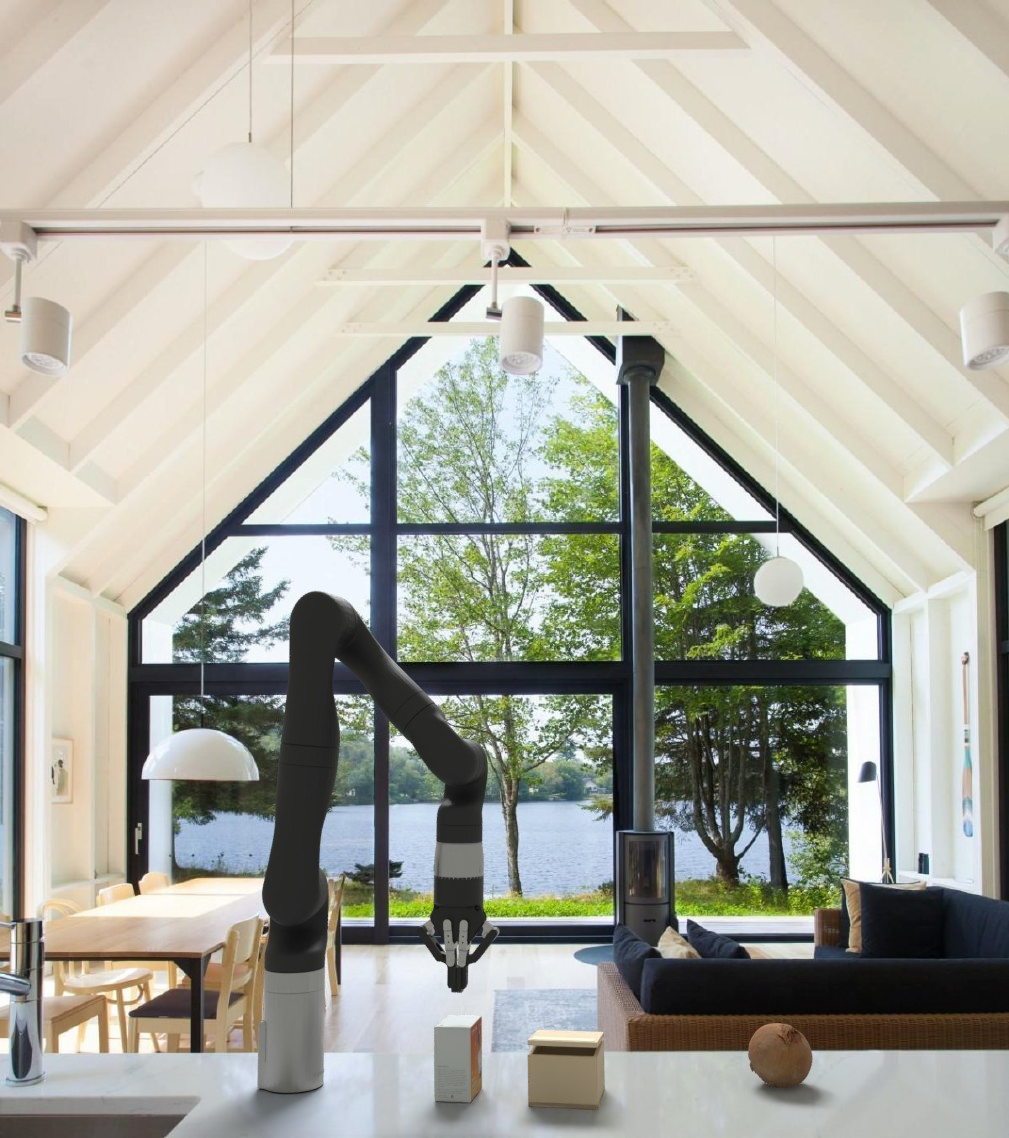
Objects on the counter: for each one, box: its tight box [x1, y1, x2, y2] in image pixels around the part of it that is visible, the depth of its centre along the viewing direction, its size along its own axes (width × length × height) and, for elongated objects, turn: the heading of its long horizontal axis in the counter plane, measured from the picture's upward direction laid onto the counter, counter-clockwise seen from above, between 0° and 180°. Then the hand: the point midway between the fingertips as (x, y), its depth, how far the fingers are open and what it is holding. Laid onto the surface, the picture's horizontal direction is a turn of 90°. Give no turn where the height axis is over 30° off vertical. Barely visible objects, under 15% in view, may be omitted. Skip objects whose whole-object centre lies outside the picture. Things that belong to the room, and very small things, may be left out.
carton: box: [527, 1039, 606, 1110], centre depth 175 cm, size 10×10×7 cm
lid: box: [527, 1029, 605, 1048], centre depth 175 cm, size 10×10×1 cm
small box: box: [433, 1014, 483, 1103], centre depth 177 cm, size 8×6×10 cm
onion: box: [747, 1022, 813, 1089], centre depth 180 cm, size 10×9×10 cm
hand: (457, 991), depth 178 cm, fingers closed
